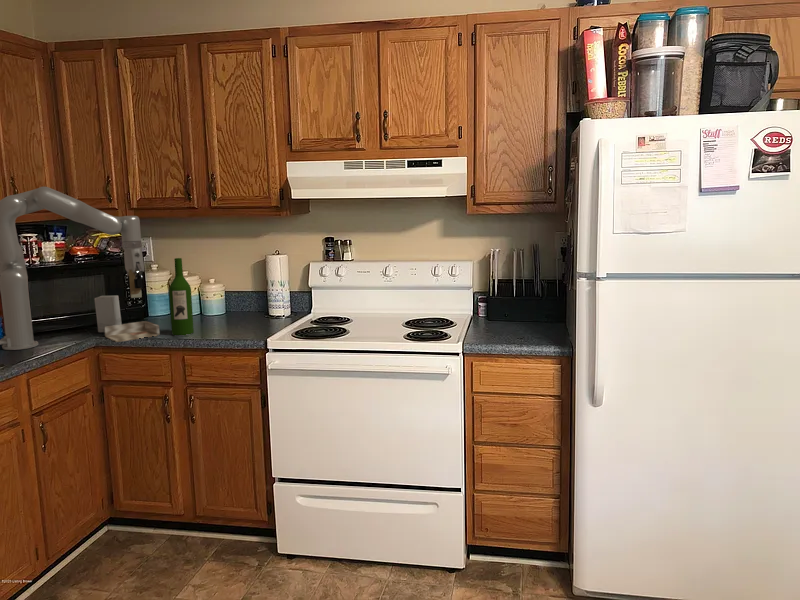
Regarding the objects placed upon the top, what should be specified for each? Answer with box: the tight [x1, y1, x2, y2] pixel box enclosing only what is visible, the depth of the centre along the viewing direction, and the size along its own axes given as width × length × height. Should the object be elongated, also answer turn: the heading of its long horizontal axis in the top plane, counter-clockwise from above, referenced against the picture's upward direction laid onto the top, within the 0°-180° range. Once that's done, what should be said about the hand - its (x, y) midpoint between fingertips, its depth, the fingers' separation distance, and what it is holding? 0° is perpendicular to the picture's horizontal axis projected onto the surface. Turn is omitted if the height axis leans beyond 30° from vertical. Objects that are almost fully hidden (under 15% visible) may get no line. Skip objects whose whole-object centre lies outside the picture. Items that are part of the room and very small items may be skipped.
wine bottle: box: [168, 257, 195, 336], centre depth 291 cm, size 9×9×32 cm
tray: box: [104, 320, 161, 343], centre depth 289 cm, size 18×14×4 cm
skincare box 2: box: [129, 269, 143, 299], centre depth 289 cm, size 6×4×12 cm
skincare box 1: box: [94, 294, 123, 333], centre depth 300 cm, size 8×7×16 cm
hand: (135, 286), depth 289 cm, fingers closed on skincare box 2, 7 cm apart
